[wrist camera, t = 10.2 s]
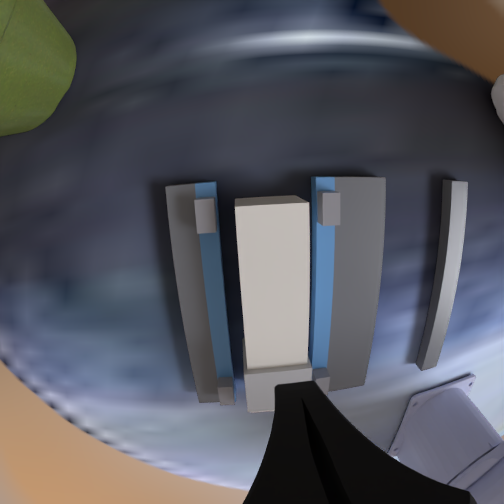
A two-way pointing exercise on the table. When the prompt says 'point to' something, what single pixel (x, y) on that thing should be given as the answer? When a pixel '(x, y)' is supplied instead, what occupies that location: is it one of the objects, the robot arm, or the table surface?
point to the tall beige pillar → (273, 294)
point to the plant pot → (32, 64)
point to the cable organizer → (499, 96)
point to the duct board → (323, 279)
